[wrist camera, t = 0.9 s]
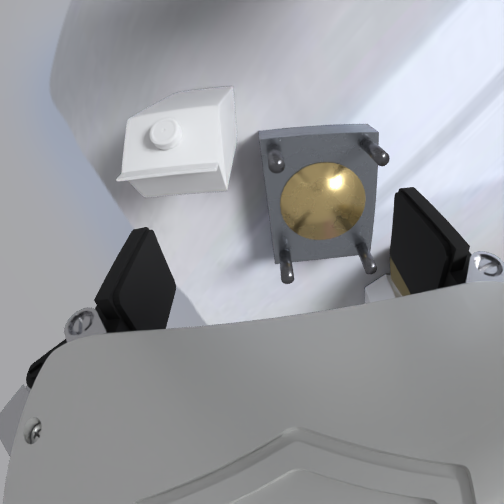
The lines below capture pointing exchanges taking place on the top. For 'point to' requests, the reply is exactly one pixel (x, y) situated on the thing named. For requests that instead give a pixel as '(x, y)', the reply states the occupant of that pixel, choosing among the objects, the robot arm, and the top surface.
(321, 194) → the grey pegged base
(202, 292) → the top surface
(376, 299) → the jar
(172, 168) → the milk carton
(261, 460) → the robot arm
